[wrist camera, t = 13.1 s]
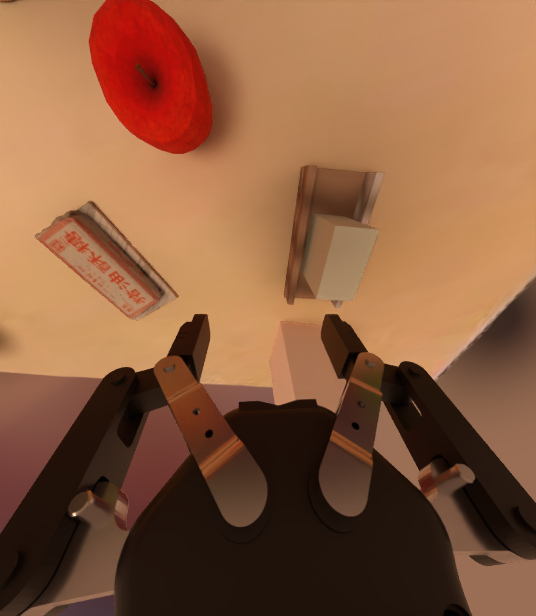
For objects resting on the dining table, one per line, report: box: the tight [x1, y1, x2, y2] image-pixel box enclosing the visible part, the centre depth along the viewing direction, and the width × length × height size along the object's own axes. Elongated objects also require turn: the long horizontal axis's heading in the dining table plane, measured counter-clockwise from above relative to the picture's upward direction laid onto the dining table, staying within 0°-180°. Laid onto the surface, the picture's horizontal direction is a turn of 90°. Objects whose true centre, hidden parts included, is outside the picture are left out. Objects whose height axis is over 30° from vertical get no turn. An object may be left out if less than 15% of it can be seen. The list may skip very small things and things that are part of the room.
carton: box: [301, 213, 380, 301], centre depth 27 cm, size 9×5×10 cm, turn 175°
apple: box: [89, 0, 212, 154], centre depth 19 cm, size 9×9×11 cm
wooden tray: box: [284, 166, 384, 308], centre depth 31 cm, size 20×10×4 cm, turn 176°
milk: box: [269, 321, 346, 413], centre depth 34 cm, size 12×12×26 cm
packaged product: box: [35, 201, 178, 321], centre depth 32 cm, size 18×5×10 cm
